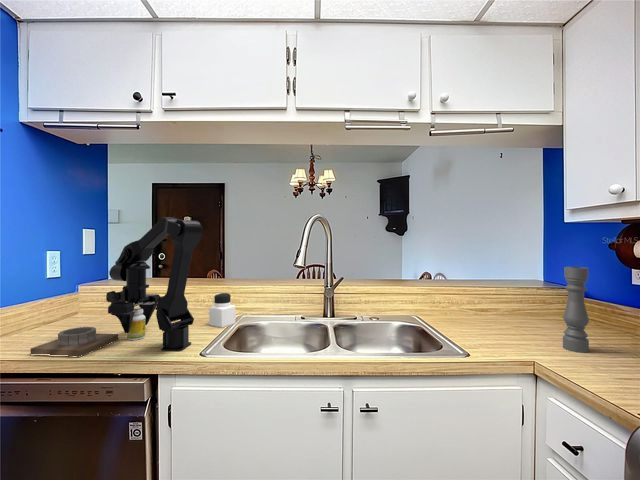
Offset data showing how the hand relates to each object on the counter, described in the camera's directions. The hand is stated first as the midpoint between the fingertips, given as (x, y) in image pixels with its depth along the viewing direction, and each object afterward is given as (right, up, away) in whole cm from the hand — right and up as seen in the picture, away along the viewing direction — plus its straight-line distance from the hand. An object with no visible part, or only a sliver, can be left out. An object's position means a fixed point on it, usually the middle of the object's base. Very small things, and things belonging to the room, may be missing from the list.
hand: (136, 328), depth 105 cm
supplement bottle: (0, -3, 0) cm, 3 cm away
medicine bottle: (+24, -3, +17) cm, 29 cm away
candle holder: (+140, -4, -9) cm, 140 cm away
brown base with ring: (-13, -3, -9) cm, 16 cm away
